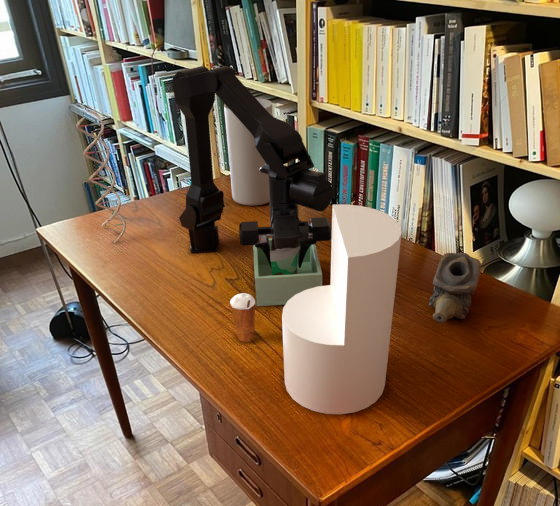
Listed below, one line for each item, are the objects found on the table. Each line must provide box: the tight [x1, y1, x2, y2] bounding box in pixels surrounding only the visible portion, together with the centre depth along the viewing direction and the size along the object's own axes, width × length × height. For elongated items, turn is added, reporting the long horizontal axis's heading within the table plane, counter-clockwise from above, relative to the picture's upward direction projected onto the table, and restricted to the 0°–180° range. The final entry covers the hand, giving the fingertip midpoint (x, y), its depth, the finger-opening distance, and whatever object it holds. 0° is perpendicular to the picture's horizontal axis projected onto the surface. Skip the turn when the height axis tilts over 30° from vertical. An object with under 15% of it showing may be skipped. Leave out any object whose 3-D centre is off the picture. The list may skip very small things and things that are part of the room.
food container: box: [270, 236, 301, 276], centre depth 120 cm, size 12×6×10 cm, turn 179°
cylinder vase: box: [223, 97, 274, 207], centre depth 153 cm, size 12×12×25 cm
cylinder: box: [281, 204, 403, 415], centre depth 88 cm, size 17×17×28 cm
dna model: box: [74, 109, 127, 244], centre depth 135 cm, size 7×6×30 cm
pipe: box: [428, 252, 482, 324], centre depth 107 cm, size 9×22×10 cm, turn 166°
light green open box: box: [252, 237, 323, 307], centre depth 121 cm, size 14×18×7 cm
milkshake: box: [229, 292, 256, 343], centre depth 104 cm, size 4×5×10 cm
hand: (285, 267), depth 121 cm, fingers closed on food container, 5 cm apart
